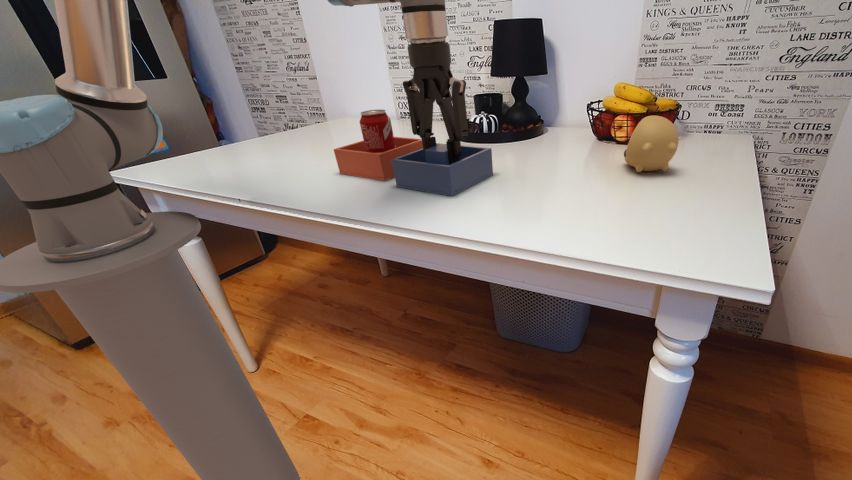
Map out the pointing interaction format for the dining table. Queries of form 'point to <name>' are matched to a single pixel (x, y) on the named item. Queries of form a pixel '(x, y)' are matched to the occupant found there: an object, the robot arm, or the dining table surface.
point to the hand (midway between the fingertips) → (444, 171)
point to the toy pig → (652, 144)
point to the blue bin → (443, 171)
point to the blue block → (437, 155)
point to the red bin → (373, 158)
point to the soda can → (377, 131)
